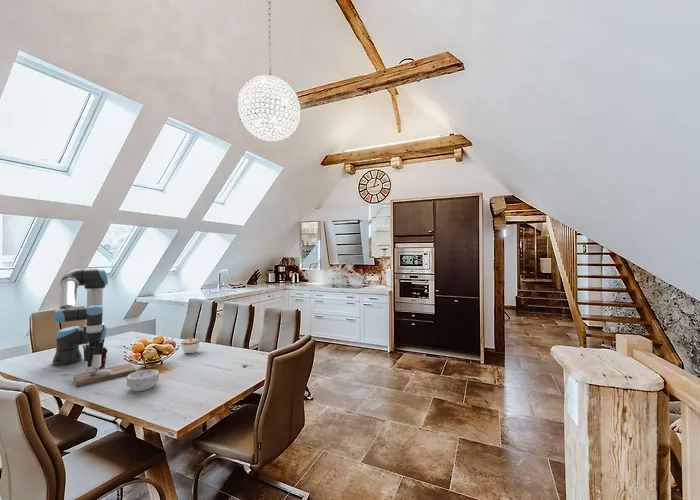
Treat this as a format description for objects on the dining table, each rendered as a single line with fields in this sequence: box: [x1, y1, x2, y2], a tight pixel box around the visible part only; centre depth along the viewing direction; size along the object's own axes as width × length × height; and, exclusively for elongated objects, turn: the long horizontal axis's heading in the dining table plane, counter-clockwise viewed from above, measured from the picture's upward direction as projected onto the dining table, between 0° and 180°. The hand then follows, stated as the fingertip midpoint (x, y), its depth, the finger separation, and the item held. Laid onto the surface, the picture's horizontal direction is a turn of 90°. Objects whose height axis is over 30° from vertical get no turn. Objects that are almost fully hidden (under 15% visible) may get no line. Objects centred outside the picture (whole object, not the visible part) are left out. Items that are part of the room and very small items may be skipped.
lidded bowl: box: [181, 337, 201, 354], centre depth 234 cm, size 13×13×11 cm
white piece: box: [84, 355, 111, 375], centre depth 184 cm, size 2×12×12 cm, turn 103°
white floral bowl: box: [126, 369, 160, 392], centre depth 174 cm, size 15×15×8 cm
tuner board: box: [73, 363, 137, 388], centre depth 188 cm, size 15×28×3 cm, turn 137°
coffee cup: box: [93, 346, 108, 370], centre depth 200 cm, size 9×8×13 cm
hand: (93, 370), depth 184 cm, fingers closed on white piece, 3 cm apart
